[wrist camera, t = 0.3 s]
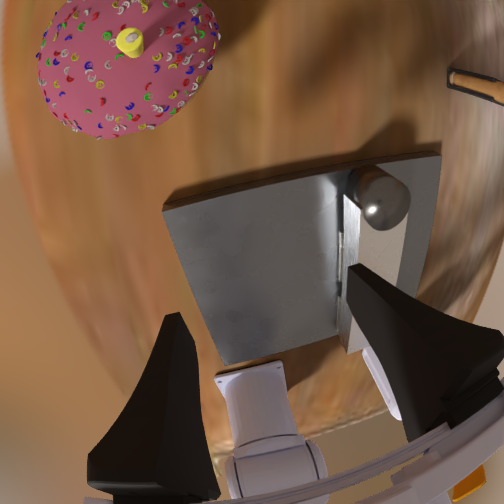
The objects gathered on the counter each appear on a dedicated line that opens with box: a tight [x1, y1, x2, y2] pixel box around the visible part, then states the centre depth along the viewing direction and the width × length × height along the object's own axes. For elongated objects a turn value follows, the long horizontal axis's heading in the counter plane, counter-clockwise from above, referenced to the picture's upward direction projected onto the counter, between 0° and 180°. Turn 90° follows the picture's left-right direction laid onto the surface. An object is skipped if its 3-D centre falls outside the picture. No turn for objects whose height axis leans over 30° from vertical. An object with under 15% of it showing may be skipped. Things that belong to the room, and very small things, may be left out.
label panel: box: [162, 151, 442, 366], centre depth 25 cm, size 18×22×2 cm
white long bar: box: [338, 164, 411, 354], centre depth 23 cm, size 18×4×3 cm, turn 9°
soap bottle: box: [362, 346, 486, 502], centre depth 25 cm, size 9×9×25 cm
